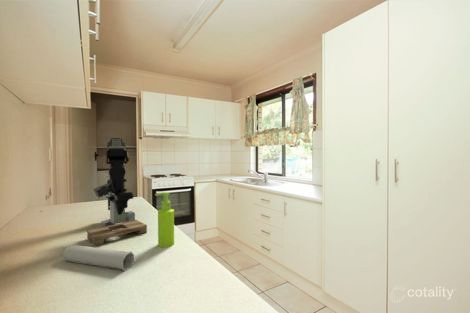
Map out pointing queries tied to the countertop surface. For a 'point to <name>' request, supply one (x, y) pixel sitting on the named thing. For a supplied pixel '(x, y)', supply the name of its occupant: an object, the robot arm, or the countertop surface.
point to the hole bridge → (106, 232)
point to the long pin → (116, 214)
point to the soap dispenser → (165, 222)
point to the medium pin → (129, 216)
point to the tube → (99, 257)
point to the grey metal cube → (106, 223)
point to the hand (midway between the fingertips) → (117, 213)
